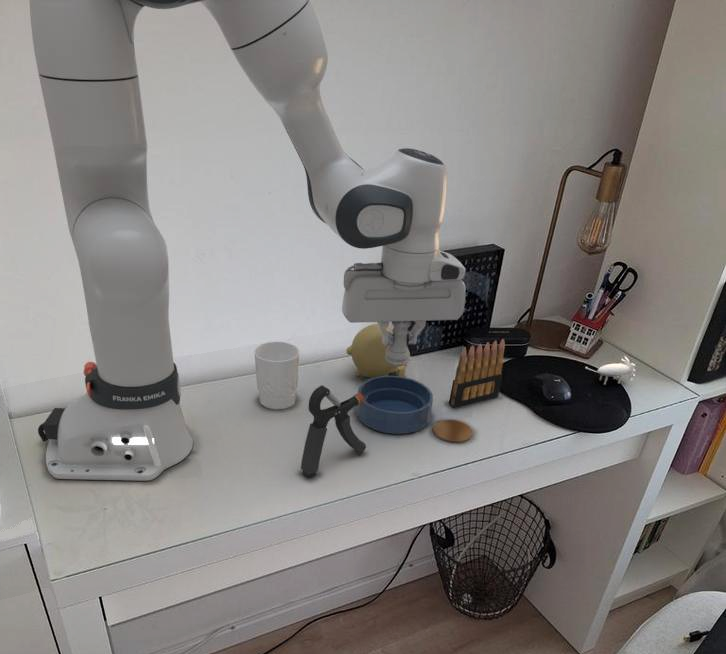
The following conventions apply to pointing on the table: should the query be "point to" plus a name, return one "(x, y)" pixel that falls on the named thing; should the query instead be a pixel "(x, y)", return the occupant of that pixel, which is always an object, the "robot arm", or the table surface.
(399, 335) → the rook chess piece
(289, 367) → the white cup
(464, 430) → the coaster
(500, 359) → the ammunition clip
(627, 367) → the white animal figurine
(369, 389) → the bowl
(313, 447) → the hand grip strengthener
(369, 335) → the khaki rounded piece
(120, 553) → the table surface
